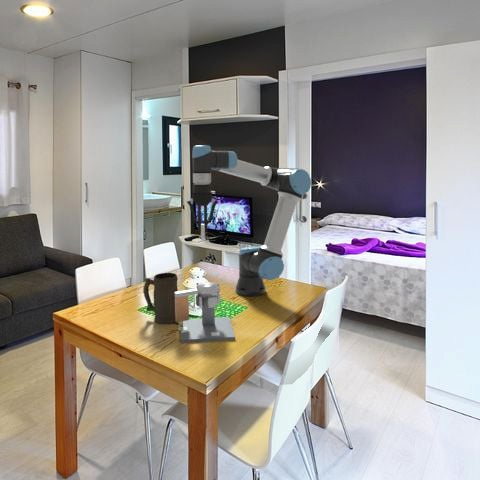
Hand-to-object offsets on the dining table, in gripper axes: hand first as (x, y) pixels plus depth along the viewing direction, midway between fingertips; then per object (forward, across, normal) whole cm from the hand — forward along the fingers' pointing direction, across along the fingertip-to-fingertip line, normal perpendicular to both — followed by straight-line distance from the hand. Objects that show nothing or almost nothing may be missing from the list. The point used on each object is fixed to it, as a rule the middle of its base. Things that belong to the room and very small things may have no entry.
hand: (202, 239), depth 176 cm
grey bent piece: (+28, -3, -19) cm, 34 cm away
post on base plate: (+32, 0, -21) cm, 39 cm away
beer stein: (+33, -18, -7) cm, 38 cm away
